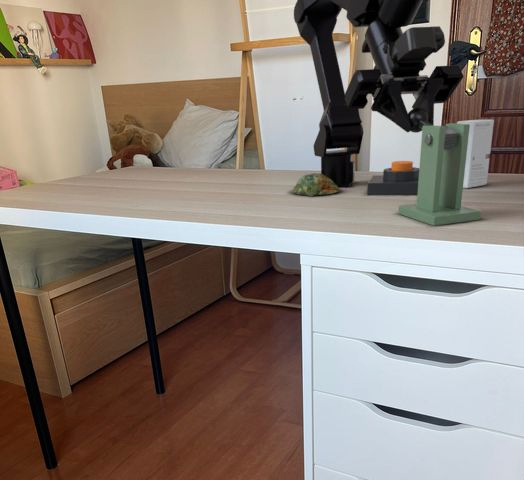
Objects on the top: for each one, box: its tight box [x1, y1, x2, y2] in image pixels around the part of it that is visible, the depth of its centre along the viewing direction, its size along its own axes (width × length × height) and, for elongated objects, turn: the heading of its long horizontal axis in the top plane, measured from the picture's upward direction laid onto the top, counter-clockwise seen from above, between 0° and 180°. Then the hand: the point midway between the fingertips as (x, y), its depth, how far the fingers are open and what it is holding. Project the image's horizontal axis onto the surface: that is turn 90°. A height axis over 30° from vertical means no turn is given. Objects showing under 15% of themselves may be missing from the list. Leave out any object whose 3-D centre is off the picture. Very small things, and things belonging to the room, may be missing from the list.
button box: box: [366, 166, 419, 196], centre depth 104 cm, size 12×10×4 cm
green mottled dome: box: [291, 173, 340, 197], centre depth 107 cm, size 10×4×10 cm
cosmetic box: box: [456, 119, 495, 189], centre depth 103 cm, size 6×4×12 cm
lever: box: [408, 108, 458, 150], centre depth 81 cm, size 11×4×4 cm, turn 18°
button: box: [390, 160, 414, 171], centre depth 103 cm, size 4×4×2 cm
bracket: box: [398, 122, 482, 227], centre depth 80 cm, size 10×8×13 cm
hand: (420, 129), depth 83 cm, fingers closed on lever, 3 cm apart
